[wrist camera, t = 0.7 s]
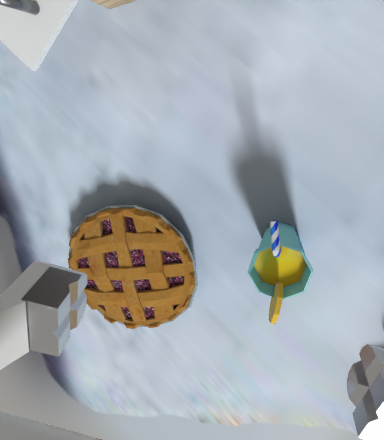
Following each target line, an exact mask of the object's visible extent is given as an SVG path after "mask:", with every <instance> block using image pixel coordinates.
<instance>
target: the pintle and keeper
mask: <svg viewBox="0 0 384 440" xmlns="http://www.w3.org/2000/svg"><path fill="white" fill-rule="evenodd" d="M0 5H3V6H6V7H10V8H13V9H16V10H20V11H23V12H26V13H30V14H33V15H37V14H38V13H39V11H40V7H39V5H38V3H37V2H34V1H31V0H0Z"/></svg>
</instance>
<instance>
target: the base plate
mask: <svg viewBox="0 0 384 440" xmlns="http://www.w3.org/2000/svg"><path fill="white" fill-rule="evenodd" d="M31 1H34V2H37V3H38V5H39V7H40V11H39V13H38V14H37V15H33V14H30V13H26V12H23V11H20V10H16V9H13V8H10V7H6V6H3V5H0V40H1V41H2V42H3V43H4V44H5V45H6V46H7V47H8V48H9V49H10V50H11V51H12V52H13V53H14V54H15V55H16V56H17V57H18V58H20V59H21V60H22V61H23V62H24V63H25V64H26V65H27V66H28V67H29V68H30V69H31V70H32V71H37V69H38V68H39V66H40V64H41V63H42V61H43V59H44V58H45V56H46V54H47V53H48V51H49V49H50V48H51V46H52V44H53V43H54V41H55V39H56V37H57V36H58V34H59V32H60V31H61V29H62V27H63V26H64V24H65V22H66V21H67V19H68V17H69V16H70V14H71V12H72V11H73V9H74V7H75V5H76V4H77V2H78V0H31Z"/></svg>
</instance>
